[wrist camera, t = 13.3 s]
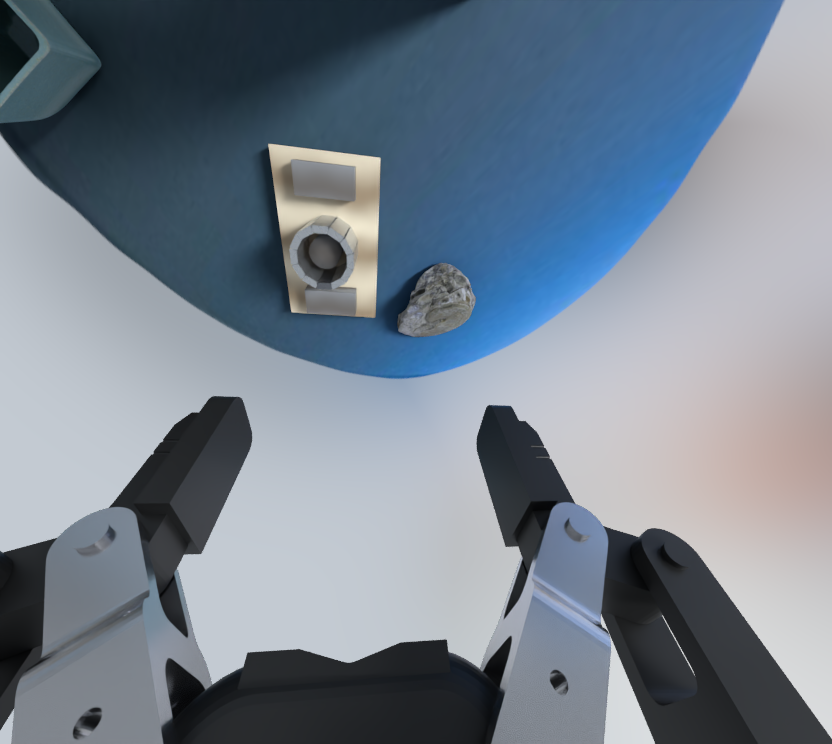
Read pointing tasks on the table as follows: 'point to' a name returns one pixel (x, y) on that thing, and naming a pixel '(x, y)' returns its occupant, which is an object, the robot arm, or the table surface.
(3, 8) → the flower pot
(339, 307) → the shaft block
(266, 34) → the table surface
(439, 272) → the fossilized seashell
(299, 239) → the hub ring
